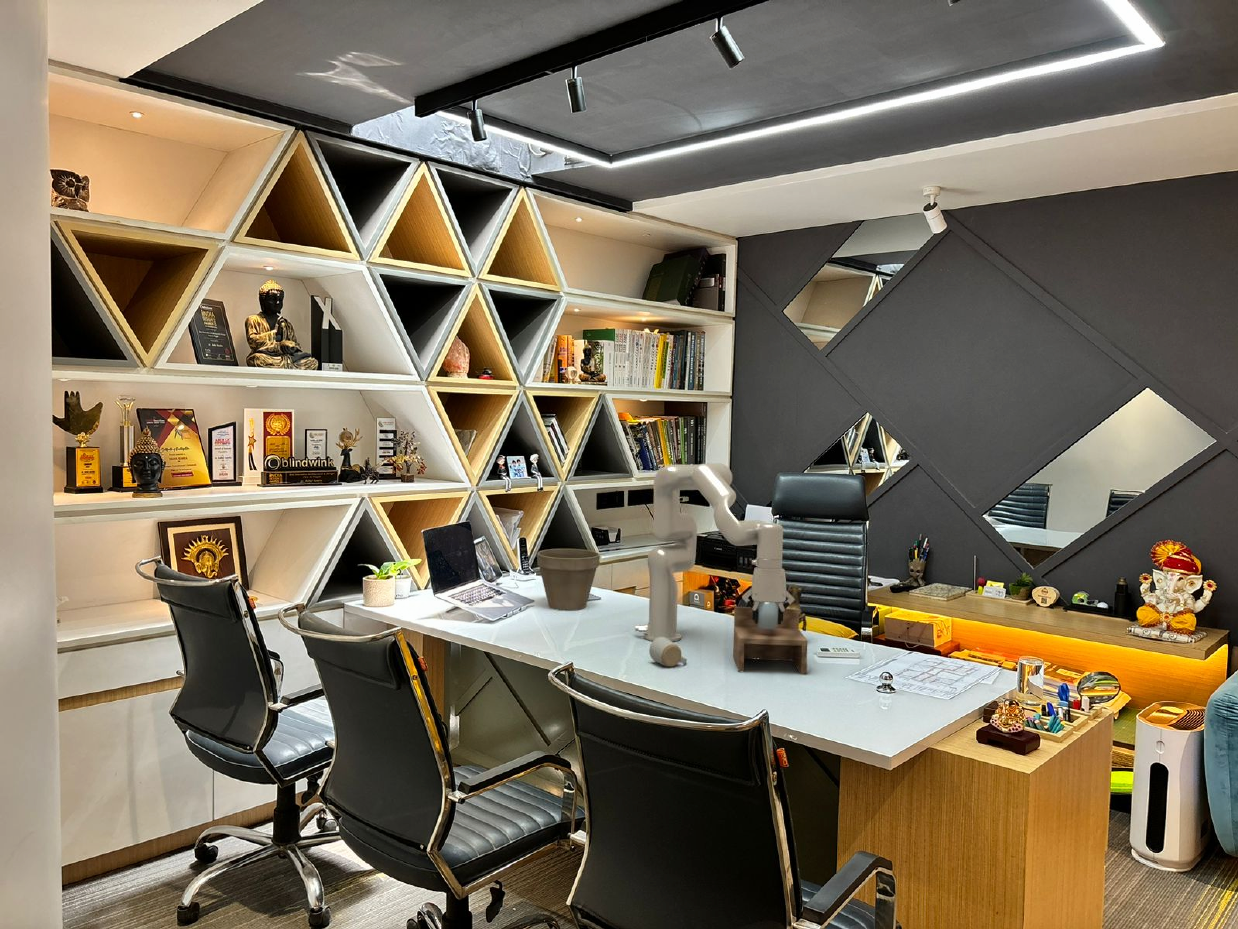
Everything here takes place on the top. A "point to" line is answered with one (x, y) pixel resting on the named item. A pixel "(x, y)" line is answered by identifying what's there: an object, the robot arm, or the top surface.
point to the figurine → (797, 603)
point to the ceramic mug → (666, 652)
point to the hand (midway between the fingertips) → (767, 622)
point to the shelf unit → (769, 639)
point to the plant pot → (567, 576)
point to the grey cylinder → (768, 615)
